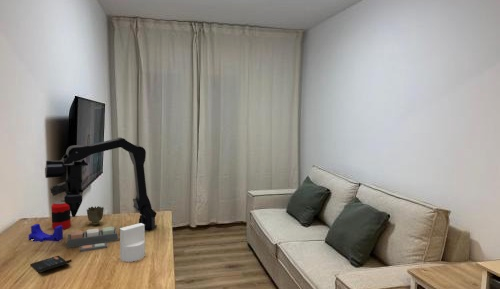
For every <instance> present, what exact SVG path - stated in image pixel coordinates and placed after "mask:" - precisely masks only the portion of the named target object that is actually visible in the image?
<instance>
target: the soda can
mask: <svg viewBox="0 0 500 289" xmlns="http://www.w3.org/2000/svg"><path fill="white" fill-rule="evenodd" d="M50 208H51V229H53V230H54V228H55V227H57V226H59V225H60V226H63V230H67V229H69V228H70V227H71V226H72V222H71V220H72V218H71V217H72V215H71V211H70V207H69V205H68V204H66V203H65V202H64V200H57V201H54V202H53V204H52V205H51V207H50Z"/></svg>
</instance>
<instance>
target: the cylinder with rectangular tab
mask: <svg viewBox="0 0 500 289" xmlns="http://www.w3.org/2000/svg"><path fill="white" fill-rule="evenodd" d="M145 233H146V232H145V225H144V224H142V223H139V222H138V223H135V224H132V225H127V226H124V227H120V228H119V259H120V261H121V262H125V263H134V262H133V261H135V262H138V261H137V260H139V261H141V260H142V258H143V257H144V256H145V257H146V239H145V235H146V234H145ZM145 257H144V258H145ZM144 258H143V259H144ZM140 259H141V260H140Z"/></svg>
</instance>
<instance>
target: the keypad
mask: <svg viewBox="0 0 500 289" xmlns="http://www.w3.org/2000/svg"><path fill="white" fill-rule="evenodd" d="M98 231H99V236H91V237H87V231H83V238H76V239H71V233H68V234H67V239H66V245H65V248H66V249H70V248H78V247H82V246H87V245H95V244H101V243H111V242H117V241H118V242H120V239H119V236H118V231H117V228H114V234H107V235H103V234H102V229H100V230H99V229H98Z"/></svg>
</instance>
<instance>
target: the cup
mask: <svg viewBox="0 0 500 289" xmlns="http://www.w3.org/2000/svg"><path fill="white" fill-rule="evenodd" d="M86 213H87V219H88V221H89V222H91V225H92V226H99V225H100V223H101V222H100V221H101V220H103V217H104V206H100V205H99V206H98V205H97V206H94V207H93V206H90V207H88V208H87V209H86Z"/></svg>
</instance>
